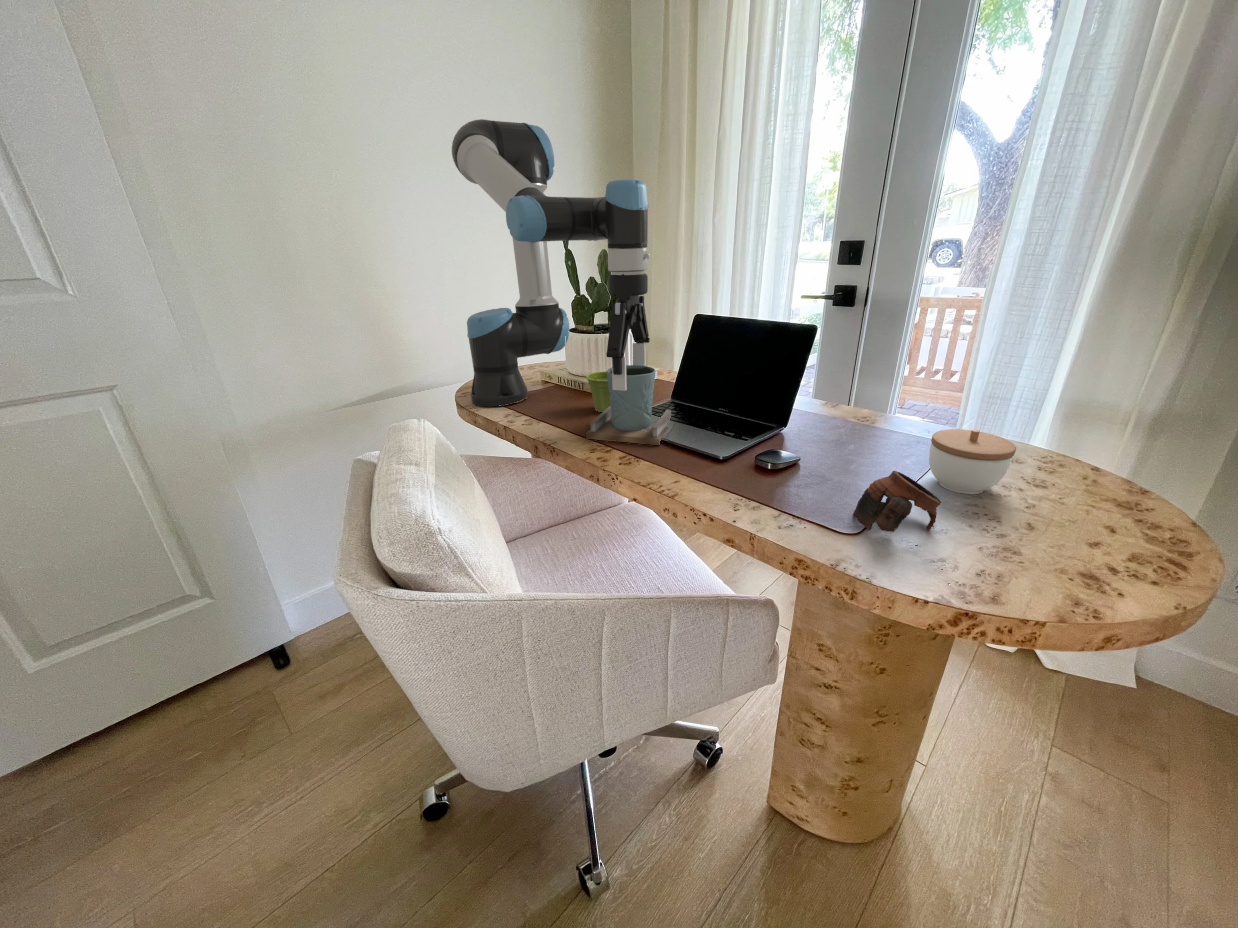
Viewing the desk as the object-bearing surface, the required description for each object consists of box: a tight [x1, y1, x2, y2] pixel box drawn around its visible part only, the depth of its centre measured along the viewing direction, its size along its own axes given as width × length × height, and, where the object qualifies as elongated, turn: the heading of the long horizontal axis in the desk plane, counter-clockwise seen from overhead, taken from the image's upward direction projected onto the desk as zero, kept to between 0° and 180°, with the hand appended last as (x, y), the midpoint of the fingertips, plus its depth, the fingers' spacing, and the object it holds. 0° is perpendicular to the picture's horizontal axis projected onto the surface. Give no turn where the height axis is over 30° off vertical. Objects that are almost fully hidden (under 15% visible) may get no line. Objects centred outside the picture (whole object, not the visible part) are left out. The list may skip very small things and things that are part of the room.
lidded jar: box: [928, 428, 1017, 495], centre depth 77 cm, size 11×11×9 cm
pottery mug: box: [853, 470, 942, 533], centre depth 67 cm, size 12×10×8 cm
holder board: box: [585, 406, 672, 446], centre depth 106 cm, size 16×14×4 cm
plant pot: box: [585, 370, 610, 411], centre depth 120 cm, size 9×9×9 cm
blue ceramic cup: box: [606, 364, 656, 431], centre depth 104 cm, size 10×10×12 cm
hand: (630, 381), depth 103 cm, fingers open, 13 cm apart
